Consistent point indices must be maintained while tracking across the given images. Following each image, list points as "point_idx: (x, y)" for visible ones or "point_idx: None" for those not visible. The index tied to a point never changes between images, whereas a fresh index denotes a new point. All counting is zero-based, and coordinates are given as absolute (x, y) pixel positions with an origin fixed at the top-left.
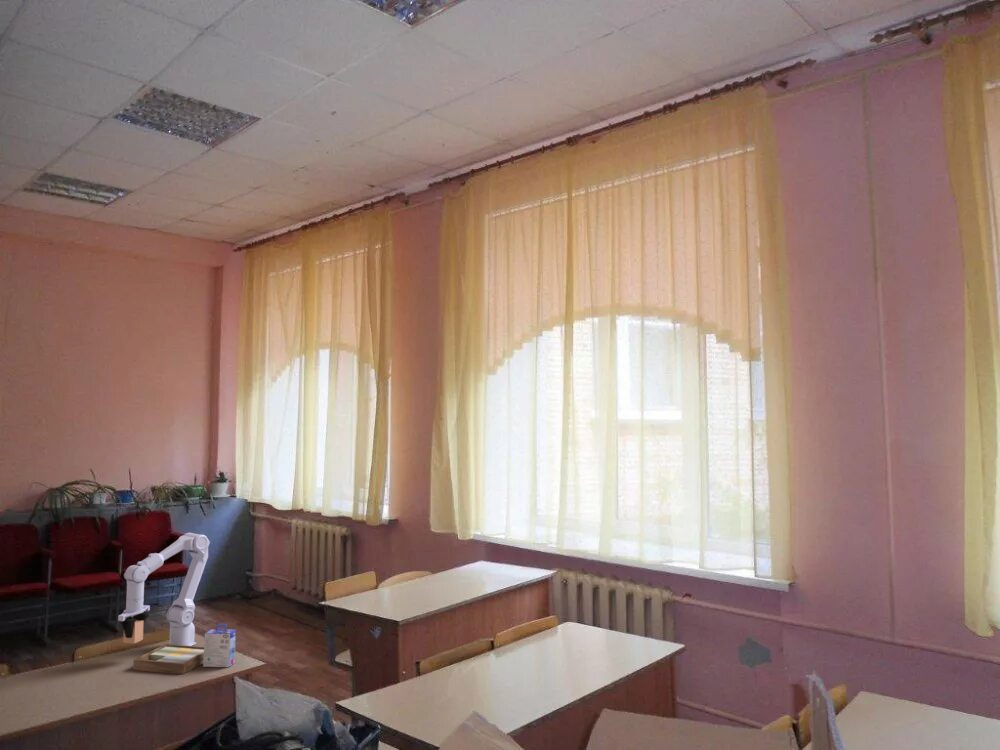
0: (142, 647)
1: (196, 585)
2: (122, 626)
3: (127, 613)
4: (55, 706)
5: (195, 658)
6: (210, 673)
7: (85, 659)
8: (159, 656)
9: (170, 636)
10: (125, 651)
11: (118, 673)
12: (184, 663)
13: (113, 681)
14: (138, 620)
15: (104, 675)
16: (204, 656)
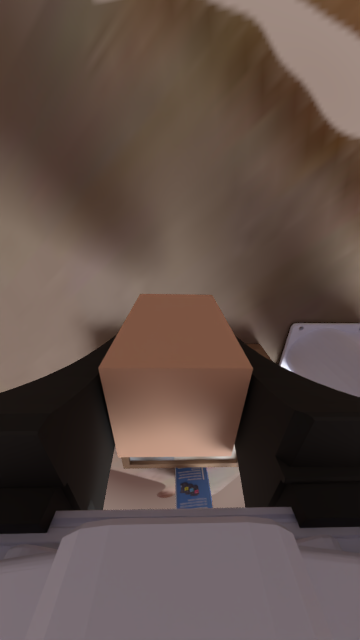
0: (335, 223)
1: None
2: (60, 370)
3: None
4: None
5: (169, 465)
6: (148, 471)
7: (147, 9)
8: None
9: (324, 366)
10: (285, 178)
11: (71, 323)
12: (126, 468)
13: (21, 349)
14: (228, 427)
15: (37, 294)
16: (175, 479)
